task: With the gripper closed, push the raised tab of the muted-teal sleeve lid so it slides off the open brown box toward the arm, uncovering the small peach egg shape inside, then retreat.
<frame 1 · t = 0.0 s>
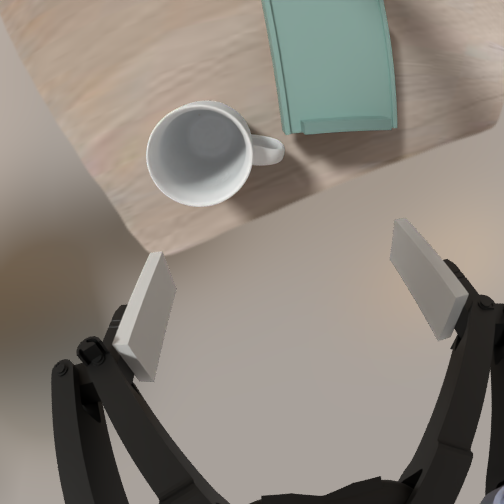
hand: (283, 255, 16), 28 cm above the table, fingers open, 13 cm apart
mug: (219, 134, 39), on the table
lid: (336, 58, 28), point 6 cm above the table, slide at 0.0 cm
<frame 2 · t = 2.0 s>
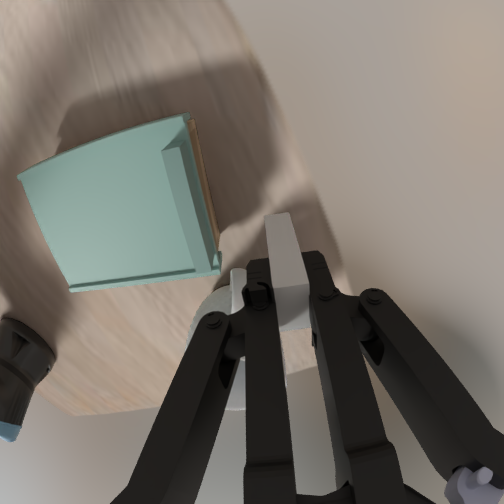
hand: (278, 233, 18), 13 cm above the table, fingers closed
mug: (235, 296, 38), on the table
open brown box: (128, 196, 29), on the table
lid: (110, 219, 25), point 6 cm above the table, slide at 0.0 cm
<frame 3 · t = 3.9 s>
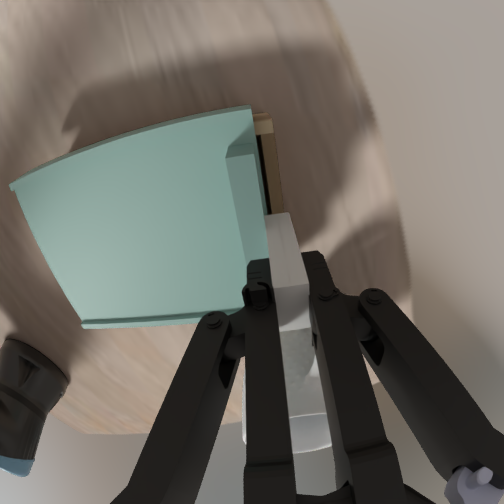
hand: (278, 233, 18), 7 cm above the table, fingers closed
mug: (292, 324, 32), on the table
open brown box: (170, 208, 24), on the table
lid: (136, 246, 19), point 6 cm above the table, slide at 1.3 cm, touching gripper
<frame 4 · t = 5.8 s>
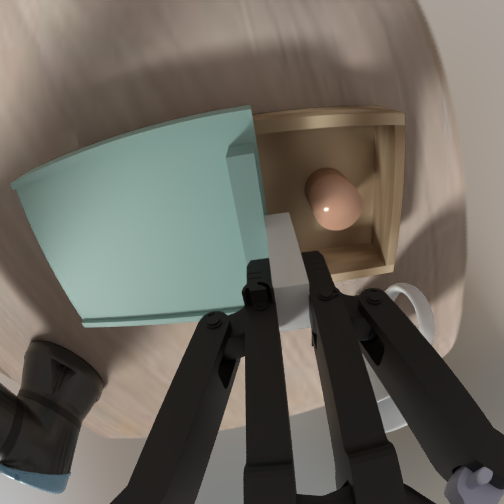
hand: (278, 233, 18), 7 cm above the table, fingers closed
mug: (365, 311, 32), on the table
open brown box: (276, 191, 23), on the table
peach egg shape: (326, 188, 22), point 1 cm above the table, touching open brown box
lid: (137, 244, 19), point 6 cm above the table, slide at 10.2 cm, touching gripper
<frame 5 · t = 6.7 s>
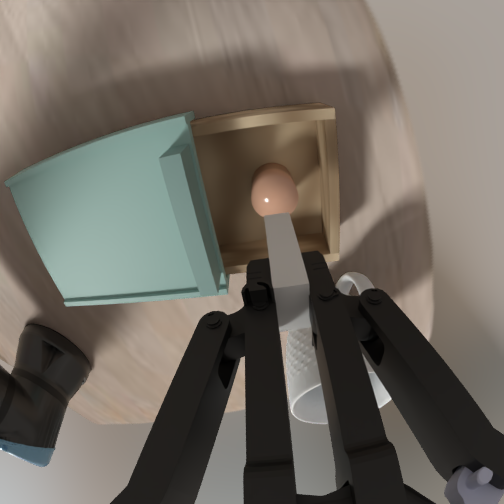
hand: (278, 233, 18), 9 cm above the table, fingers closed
mug: (327, 301, 34), on the table
open brown box: (227, 185, 26), on the table
peach egg shape: (272, 182, 25), point 1 cm above the table, touching open brown box
lid: (104, 232, 22), point 6 cm above the table, slide at 10.2 cm
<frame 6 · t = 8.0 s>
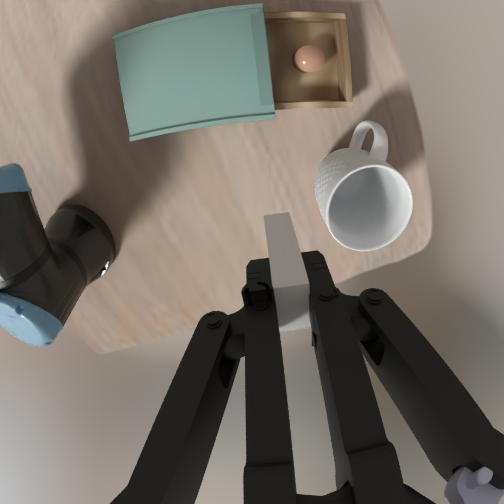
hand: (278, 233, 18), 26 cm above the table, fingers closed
mug: (343, 166, 41), on the table
open brown box: (274, 61, 32), on the table
peach egg shape: (305, 60, 32), point 1 cm above the table, touching open brown box
lid: (190, 69, 29), point 6 cm above the table, slide at 10.2 cm
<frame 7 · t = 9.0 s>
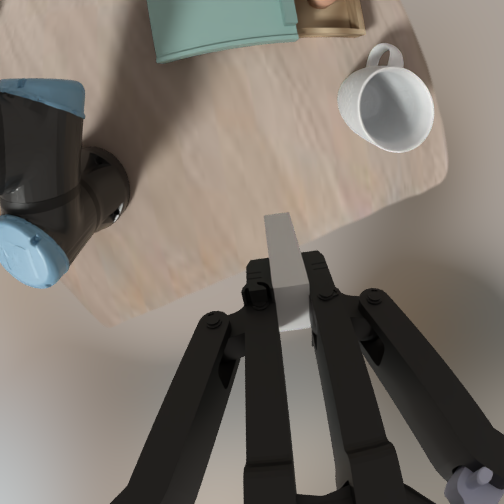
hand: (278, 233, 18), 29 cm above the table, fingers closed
mug: (360, 93, 38), on the table
open brown box: (290, 1, 30), on the table
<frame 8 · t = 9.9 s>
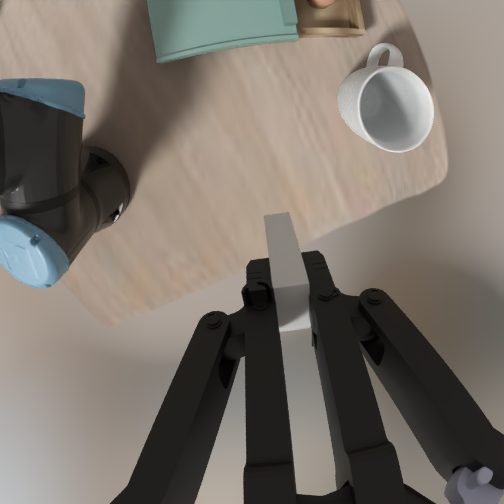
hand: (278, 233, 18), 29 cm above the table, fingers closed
mug: (360, 93, 38), on the table
open brown box: (290, 1, 30), on the table
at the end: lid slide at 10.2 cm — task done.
